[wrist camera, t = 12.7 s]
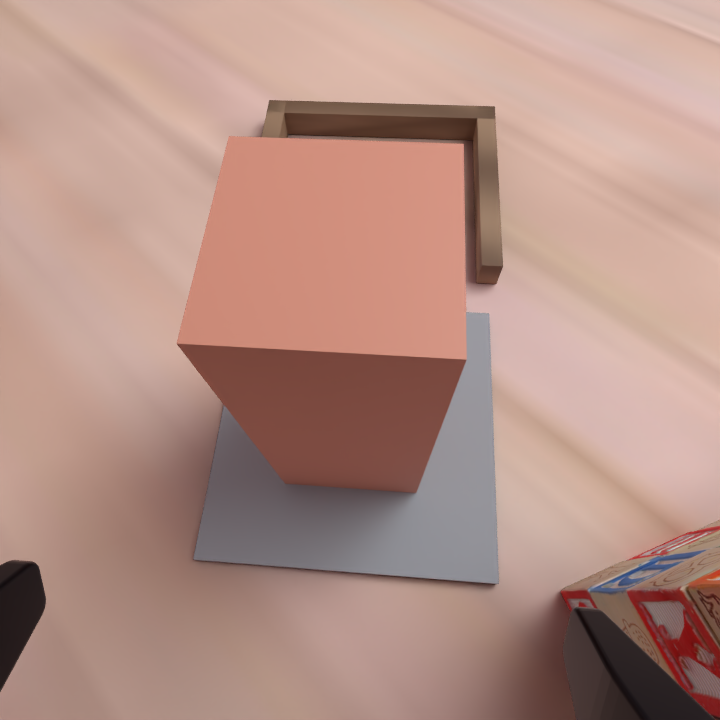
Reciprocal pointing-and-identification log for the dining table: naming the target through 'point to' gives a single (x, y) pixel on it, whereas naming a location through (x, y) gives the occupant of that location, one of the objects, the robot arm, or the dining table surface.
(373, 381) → the salmon-pink block
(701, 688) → the stack of blocks
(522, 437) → the dining table surface
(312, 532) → the slate-grey mat
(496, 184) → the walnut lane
